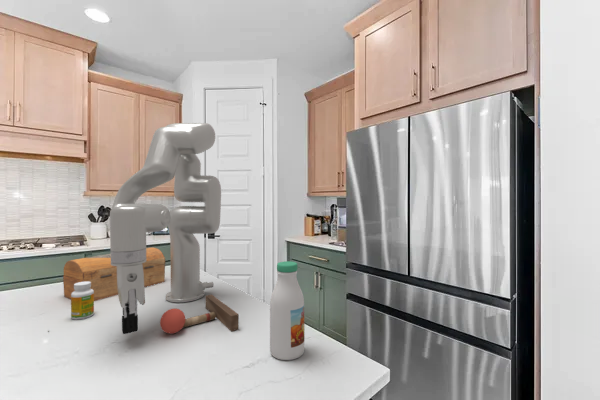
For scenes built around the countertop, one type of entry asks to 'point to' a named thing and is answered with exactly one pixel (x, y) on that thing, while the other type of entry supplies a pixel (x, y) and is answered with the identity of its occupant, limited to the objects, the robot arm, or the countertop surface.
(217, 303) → the wall
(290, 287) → the milk bottle
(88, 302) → the supplement bottle
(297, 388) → the countertop surface
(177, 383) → the countertop surface
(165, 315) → the ball
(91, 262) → the wooden box
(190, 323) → the pin
